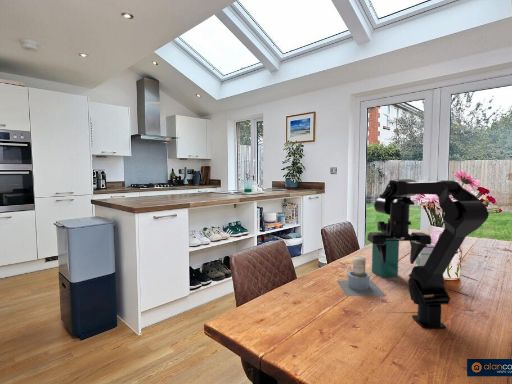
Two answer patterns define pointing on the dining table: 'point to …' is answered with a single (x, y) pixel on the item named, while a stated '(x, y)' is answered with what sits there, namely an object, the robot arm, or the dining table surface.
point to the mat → (372, 290)
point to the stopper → (359, 266)
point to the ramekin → (358, 281)
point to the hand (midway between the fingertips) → (397, 263)
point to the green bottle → (391, 259)
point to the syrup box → (424, 255)
